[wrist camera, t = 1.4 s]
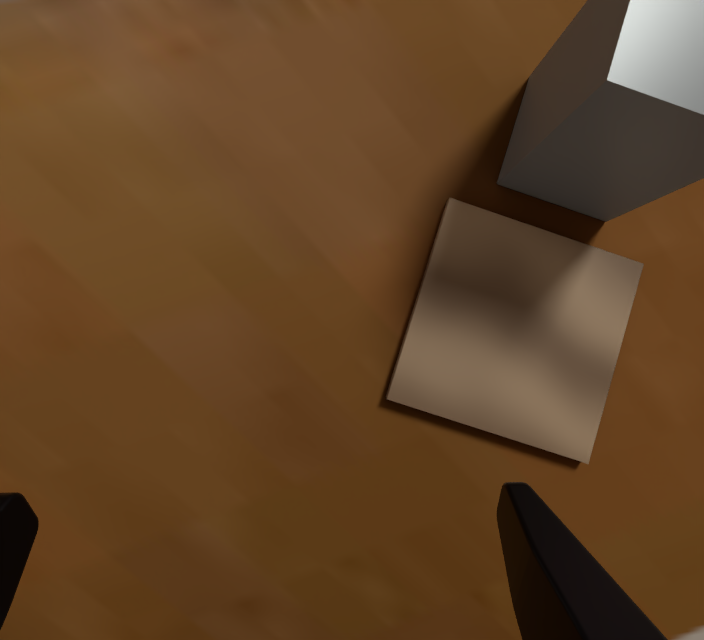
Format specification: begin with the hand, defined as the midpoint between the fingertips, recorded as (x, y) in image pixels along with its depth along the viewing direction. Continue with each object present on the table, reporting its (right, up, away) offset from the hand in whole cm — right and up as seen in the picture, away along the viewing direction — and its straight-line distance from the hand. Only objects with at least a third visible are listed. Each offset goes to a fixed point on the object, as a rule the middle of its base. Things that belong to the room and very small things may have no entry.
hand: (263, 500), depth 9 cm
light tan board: (+10, +3, +16) cm, 20 cm away
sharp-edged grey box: (+14, +13, +17) cm, 25 cm away
